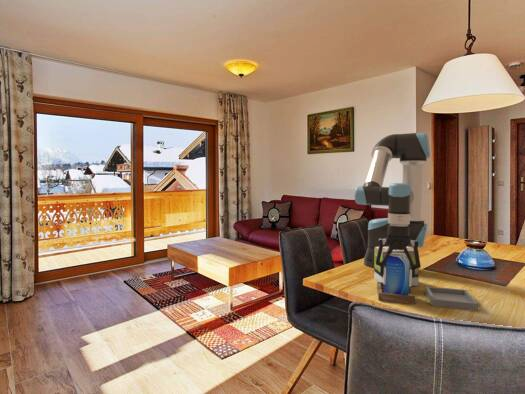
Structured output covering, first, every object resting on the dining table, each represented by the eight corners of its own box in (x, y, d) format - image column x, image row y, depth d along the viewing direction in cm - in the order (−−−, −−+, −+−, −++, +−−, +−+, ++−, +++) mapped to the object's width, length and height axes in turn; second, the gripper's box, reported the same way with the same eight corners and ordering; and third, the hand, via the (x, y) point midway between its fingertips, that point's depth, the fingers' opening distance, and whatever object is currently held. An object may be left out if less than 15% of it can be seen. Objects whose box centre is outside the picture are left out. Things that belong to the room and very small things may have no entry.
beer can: (380, 294, 127) (381, 253, 125) (392, 290, 131) (393, 250, 130) (400, 301, 120) (401, 257, 119) (413, 296, 125) (414, 254, 124)
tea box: (407, 278, 146) (408, 245, 145) (418, 286, 136) (420, 250, 135) (373, 279, 145) (374, 245, 144) (382, 287, 135) (383, 251, 134)
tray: (425, 292, 129) (425, 286, 129) (466, 296, 125) (466, 289, 125) (432, 306, 116) (432, 299, 116) (478, 310, 112) (478, 303, 112)
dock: (376, 288, 134) (377, 281, 134) (409, 291, 130) (410, 284, 130) (378, 300, 121) (378, 293, 121) (415, 304, 118) (415, 297, 117)
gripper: (369, 225, 123) (367, 285, 125) (431, 227, 117) (429, 290, 119) (368, 222, 130) (367, 279, 132) (427, 224, 124) (425, 284, 126)
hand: (396, 284), depth 125 cm, fingers closed on beer can, 8 cm apart
